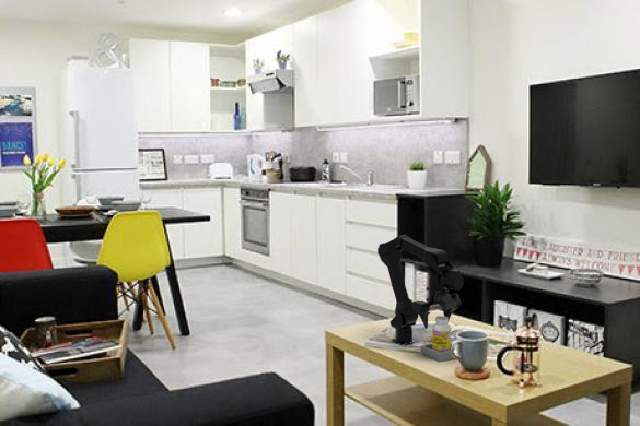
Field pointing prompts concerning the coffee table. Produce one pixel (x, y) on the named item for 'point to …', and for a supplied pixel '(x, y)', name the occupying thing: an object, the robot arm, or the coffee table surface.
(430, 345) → the walled box
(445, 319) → the supplement bottle
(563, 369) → the coffee table surface
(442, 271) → the robot arm
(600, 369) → the coffee table surface
